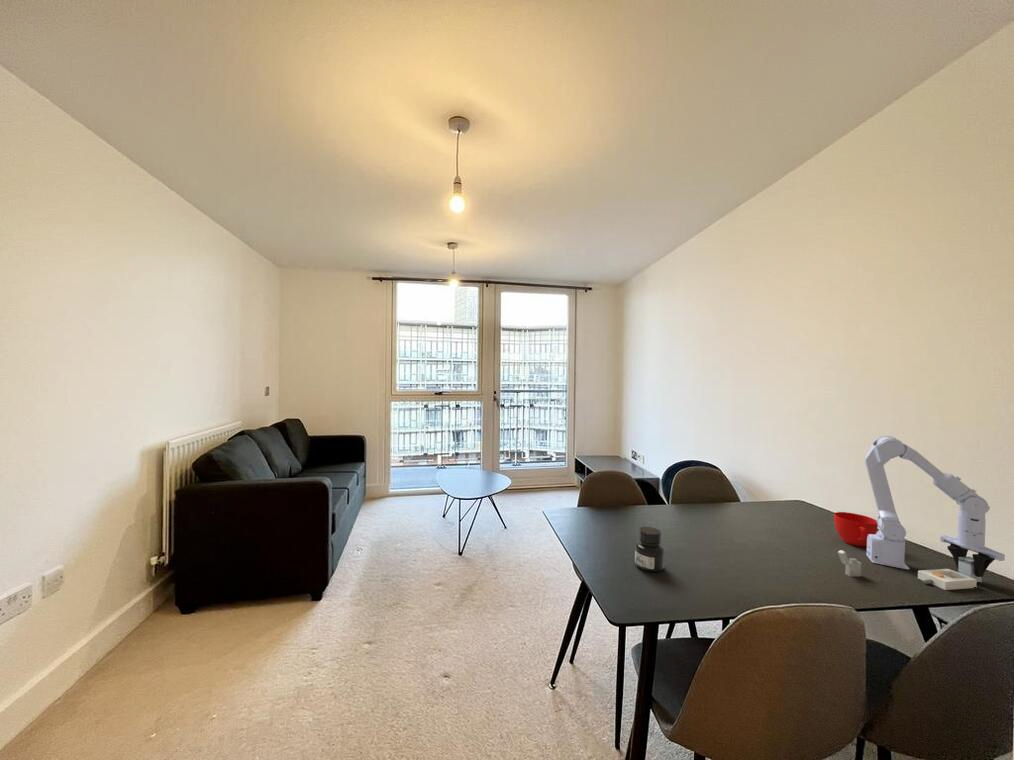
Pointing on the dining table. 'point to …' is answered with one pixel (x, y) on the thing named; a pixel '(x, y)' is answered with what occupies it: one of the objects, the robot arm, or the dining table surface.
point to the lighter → (850, 564)
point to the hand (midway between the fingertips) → (969, 572)
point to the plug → (968, 567)
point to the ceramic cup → (854, 527)
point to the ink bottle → (649, 550)
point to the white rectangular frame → (946, 579)
